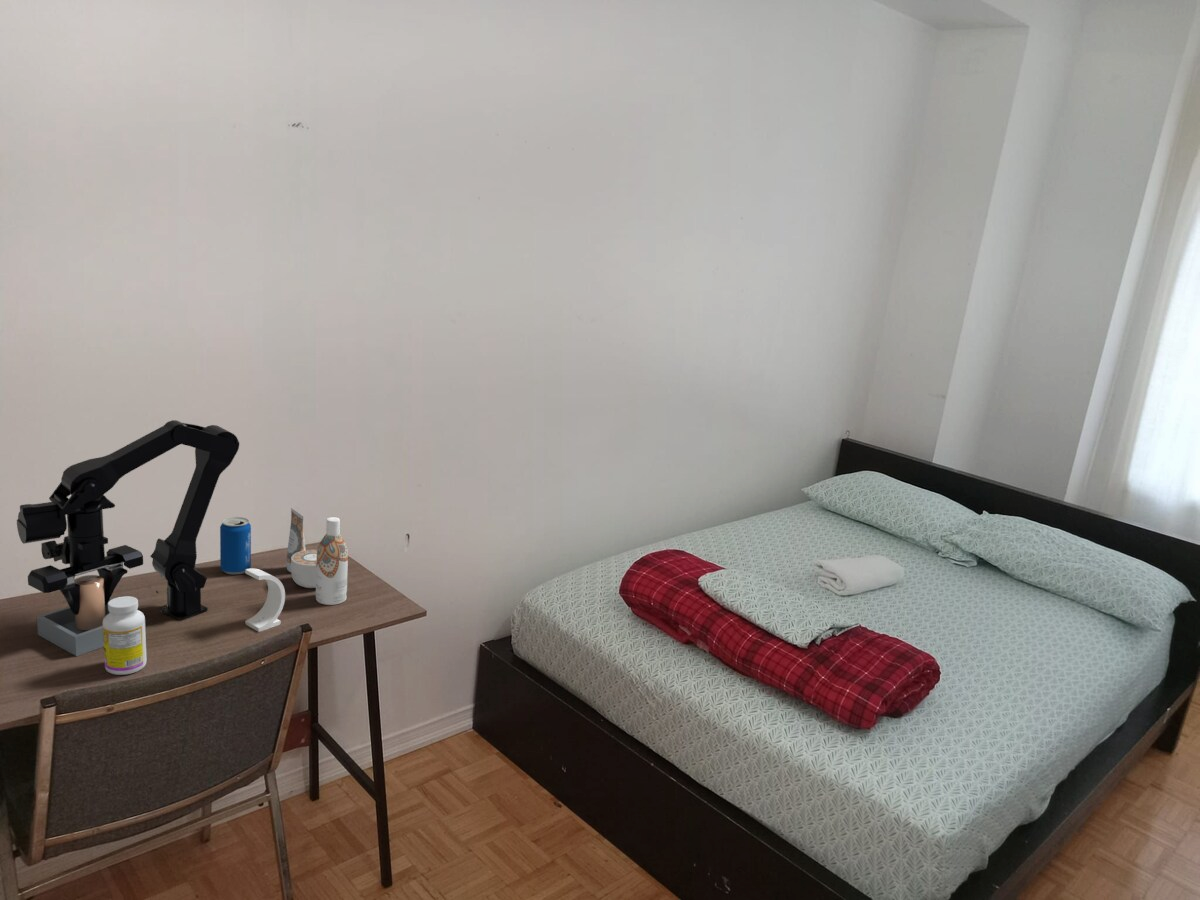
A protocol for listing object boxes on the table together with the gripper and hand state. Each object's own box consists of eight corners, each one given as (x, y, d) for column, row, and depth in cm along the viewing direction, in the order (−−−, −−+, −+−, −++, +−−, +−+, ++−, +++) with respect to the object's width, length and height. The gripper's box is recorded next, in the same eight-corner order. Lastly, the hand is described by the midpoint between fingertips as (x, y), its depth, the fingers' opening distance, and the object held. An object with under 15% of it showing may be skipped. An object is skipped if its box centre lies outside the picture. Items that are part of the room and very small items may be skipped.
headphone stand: (245, 624, 177) (245, 569, 174) (271, 615, 182) (271, 561, 179) (258, 632, 175) (258, 576, 172) (285, 622, 180) (285, 568, 177)
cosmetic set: (271, 569, 205) (271, 492, 200) (309, 562, 211) (310, 487, 206) (317, 609, 187) (319, 527, 182) (357, 600, 193) (360, 520, 188)
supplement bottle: (114, 657, 160) (112, 592, 157) (152, 658, 161) (150, 594, 158) (97, 675, 154) (94, 608, 151) (137, 677, 155) (134, 610, 151)
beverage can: (240, 577, 198) (240, 528, 195) (214, 572, 199) (213, 523, 196) (256, 567, 204) (256, 519, 201) (231, 563, 205) (231, 514, 202)
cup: (111, 623, 168) (109, 580, 166) (85, 632, 164) (82, 588, 162) (95, 615, 170) (93, 572, 168) (69, 624, 166) (67, 580, 164)
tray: (142, 632, 170) (141, 614, 169) (76, 656, 159) (75, 637, 158) (103, 613, 176) (102, 595, 175) (38, 634, 165) (36, 616, 164)
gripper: (109, 510, 174) (112, 582, 178) (8, 534, 158) (14, 613, 162) (143, 524, 169) (146, 598, 173) (42, 550, 153) (48, 631, 157)
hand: (89, 609), depth 166 cm, fingers closed on cup, 5 cm apart
